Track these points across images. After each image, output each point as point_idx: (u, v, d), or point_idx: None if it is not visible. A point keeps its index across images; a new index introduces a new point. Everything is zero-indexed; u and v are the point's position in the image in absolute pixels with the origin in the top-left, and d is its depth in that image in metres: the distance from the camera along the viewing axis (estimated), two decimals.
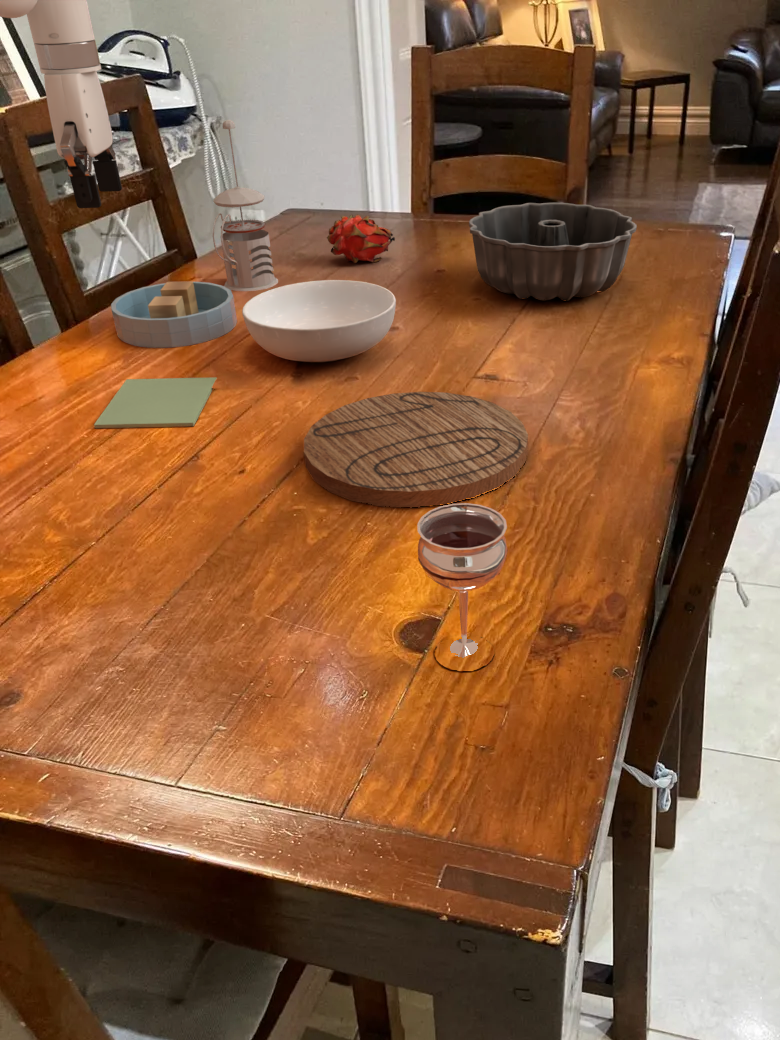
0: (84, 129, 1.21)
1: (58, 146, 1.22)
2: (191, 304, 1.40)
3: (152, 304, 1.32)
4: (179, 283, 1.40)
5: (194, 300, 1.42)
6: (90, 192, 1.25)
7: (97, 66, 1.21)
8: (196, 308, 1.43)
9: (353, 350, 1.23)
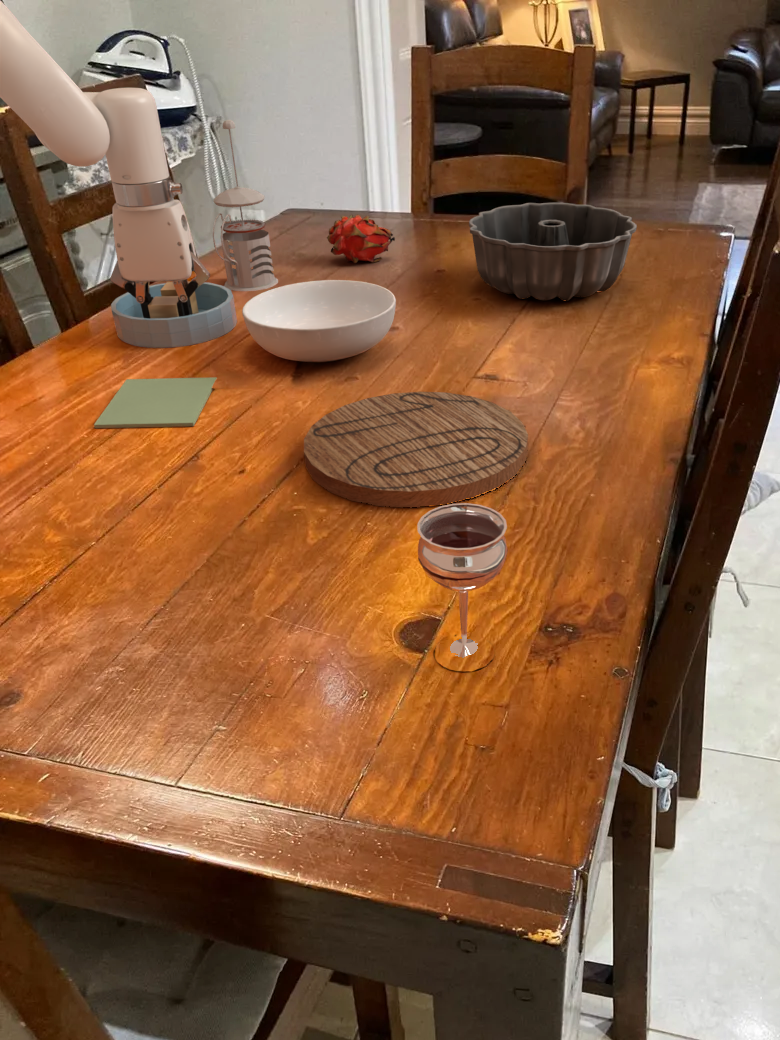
0: (117, 255, 1.28)
1: None
2: (191, 304, 1.40)
3: (152, 304, 1.32)
4: None
5: (194, 300, 1.42)
6: (145, 315, 1.34)
7: (133, 207, 1.23)
8: (196, 308, 1.43)
9: (353, 350, 1.23)
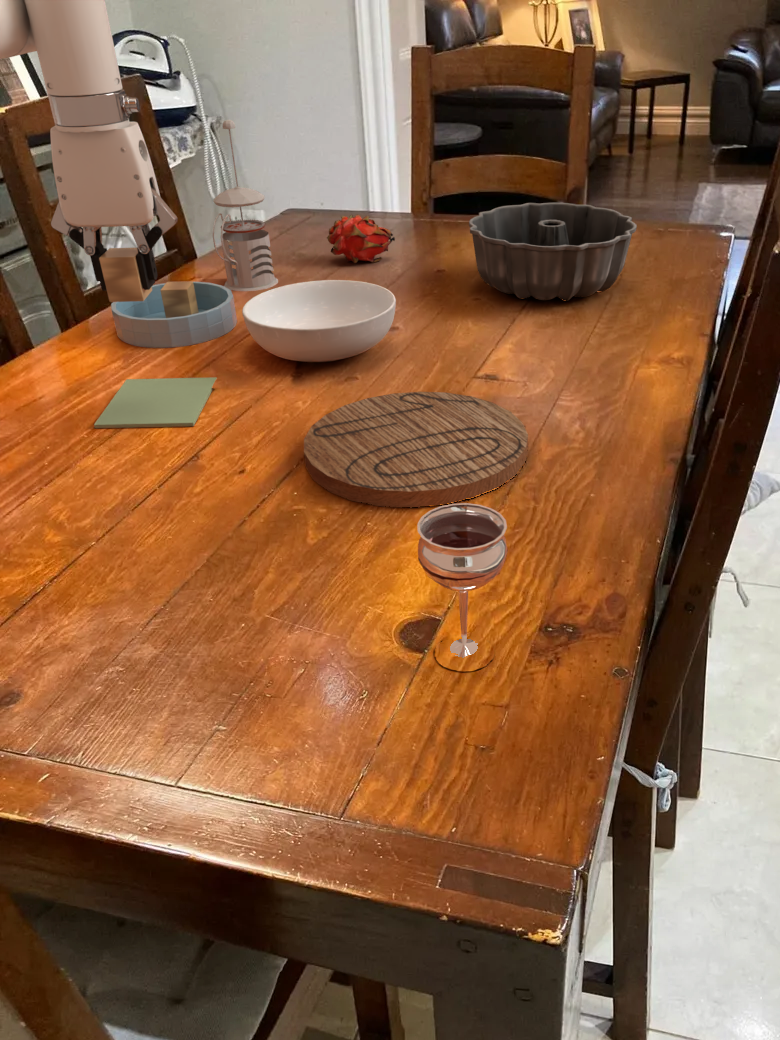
0: (58, 193, 1.01)
1: None
2: (191, 304, 1.40)
3: (104, 256, 1.05)
4: (179, 283, 1.40)
5: (194, 300, 1.42)
6: (96, 271, 1.07)
7: (76, 127, 0.96)
8: (196, 308, 1.43)
9: (353, 350, 1.23)
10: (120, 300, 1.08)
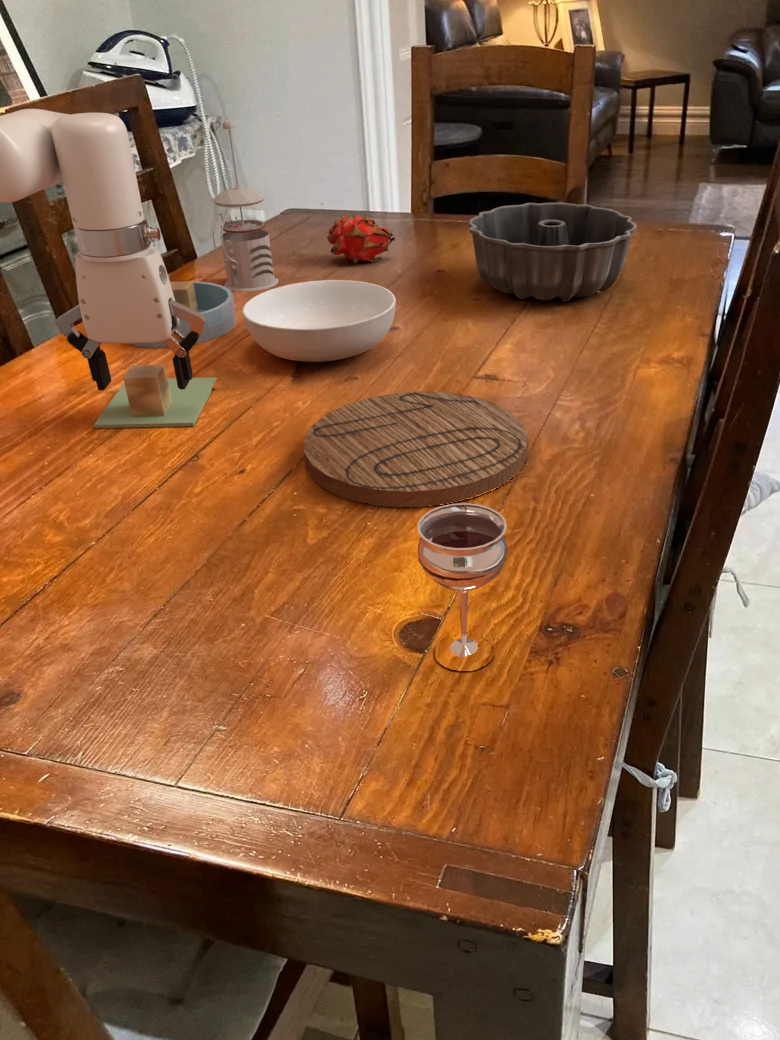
0: (81, 313, 1.06)
1: None
2: (191, 304, 1.40)
3: (128, 376, 1.11)
4: (179, 283, 1.40)
5: (194, 300, 1.42)
6: (93, 372, 1.11)
7: (100, 258, 1.01)
8: (196, 308, 1.43)
9: (353, 350, 1.23)
10: (142, 415, 1.13)
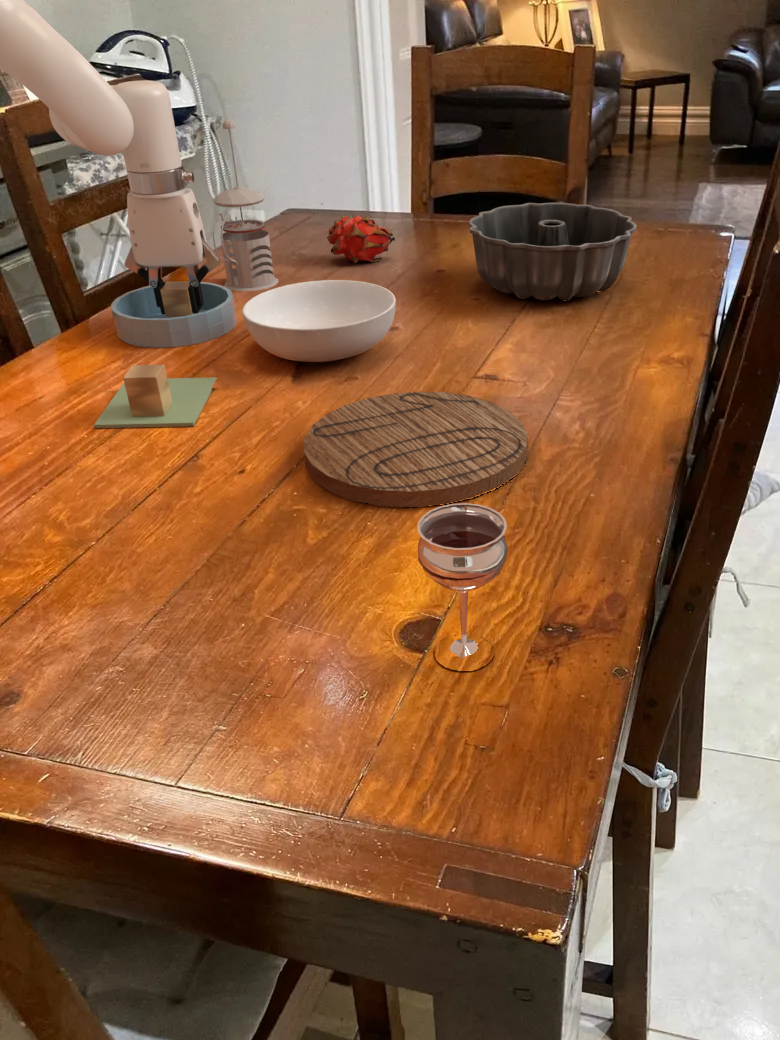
0: (131, 241, 1.34)
1: None
2: None
3: (128, 376, 1.11)
4: (179, 283, 1.40)
5: None
6: (157, 299, 1.40)
7: (147, 195, 1.29)
8: None
9: (353, 350, 1.23)
10: (142, 415, 1.13)
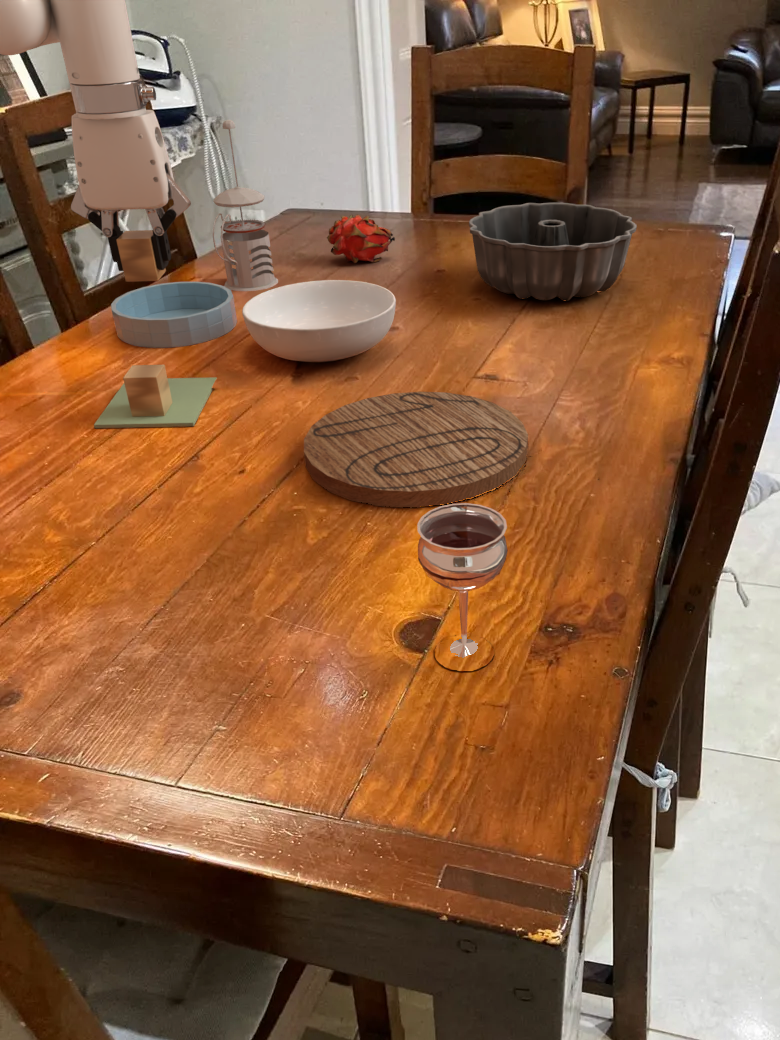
0: (78, 177, 1.07)
1: None
2: None
3: (128, 376, 1.11)
4: (140, 232, 1.13)
5: None
6: (113, 252, 1.13)
7: (96, 115, 1.01)
8: None
9: (353, 350, 1.23)
10: (142, 415, 1.13)
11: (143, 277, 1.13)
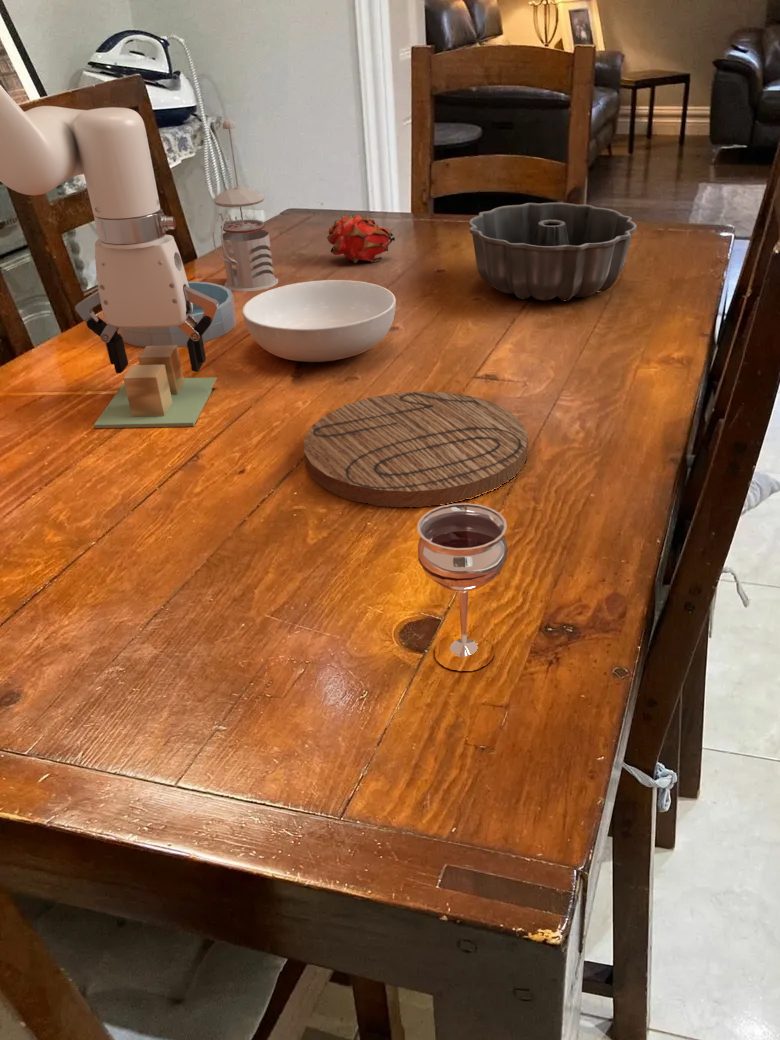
0: (100, 298, 1.12)
1: None
2: (175, 373, 1.18)
3: (128, 376, 1.11)
4: (161, 348, 1.18)
5: (179, 367, 1.20)
6: (111, 356, 1.17)
7: (119, 245, 1.06)
8: (181, 376, 1.21)
9: (353, 350, 1.23)
10: (142, 415, 1.13)
11: None
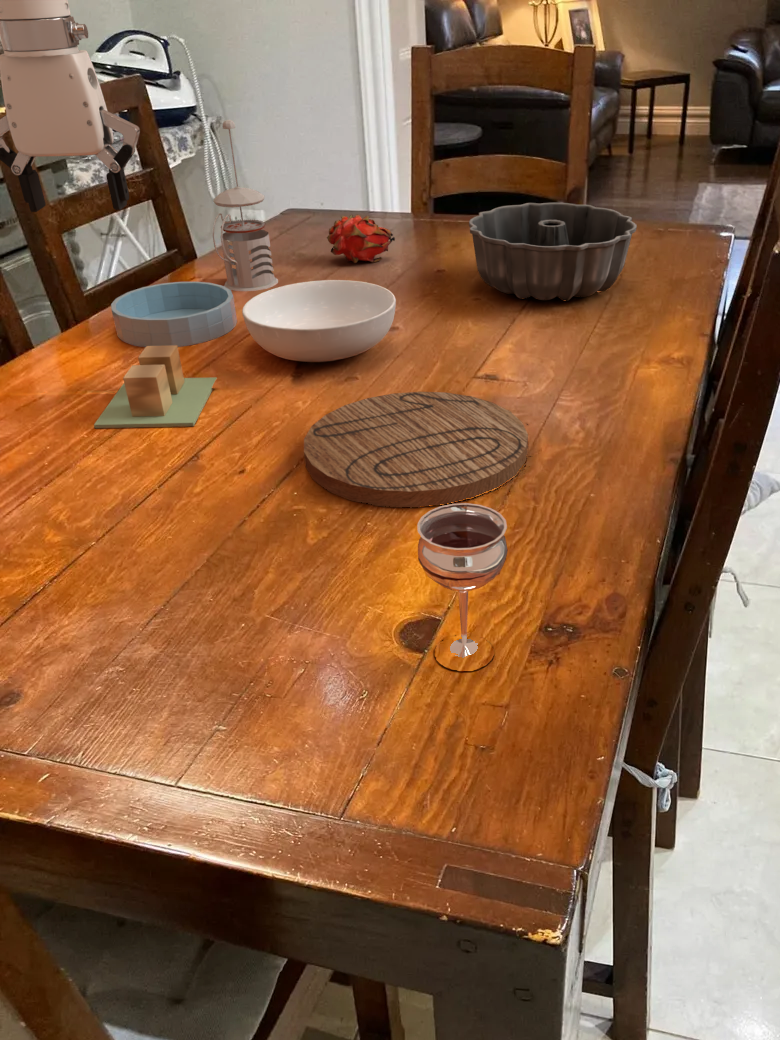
0: (8, 121, 1.02)
1: None
2: (175, 373, 1.18)
3: (128, 376, 1.11)
4: (161, 348, 1.18)
5: (179, 367, 1.20)
6: (24, 192, 1.07)
7: (23, 52, 0.97)
8: (181, 376, 1.21)
9: (353, 350, 1.23)
10: (142, 415, 1.13)
11: None
